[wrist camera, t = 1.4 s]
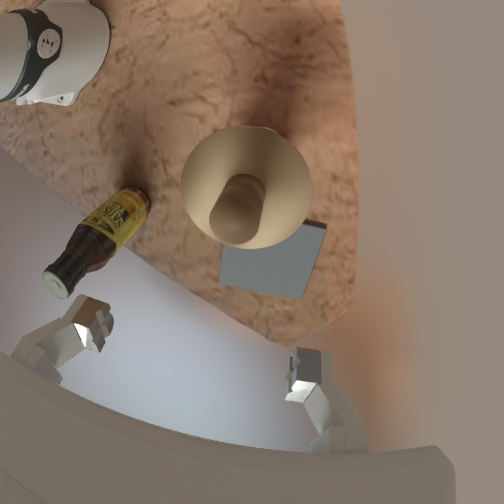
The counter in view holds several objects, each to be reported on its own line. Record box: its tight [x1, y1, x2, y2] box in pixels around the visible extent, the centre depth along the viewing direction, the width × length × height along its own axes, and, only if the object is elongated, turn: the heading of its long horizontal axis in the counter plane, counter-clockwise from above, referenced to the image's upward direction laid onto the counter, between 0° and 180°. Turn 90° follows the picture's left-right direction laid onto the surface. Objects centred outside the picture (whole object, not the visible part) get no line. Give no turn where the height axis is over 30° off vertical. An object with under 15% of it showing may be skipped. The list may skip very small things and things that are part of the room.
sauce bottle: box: [43, 187, 150, 299], centre depth 33 cm, size 7×6×20 cm
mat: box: [219, 223, 326, 300], centre depth 43 cm, size 14×14×1 cm
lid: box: [181, 125, 312, 249], centre depth 21 cm, size 11×11×6 cm
